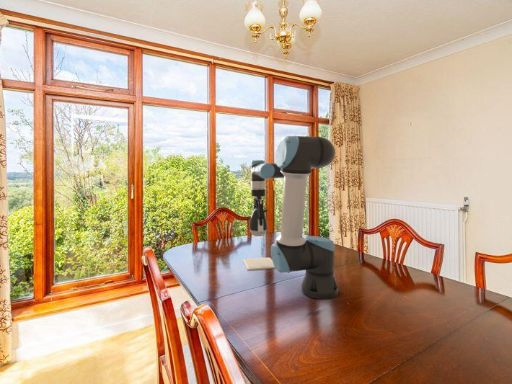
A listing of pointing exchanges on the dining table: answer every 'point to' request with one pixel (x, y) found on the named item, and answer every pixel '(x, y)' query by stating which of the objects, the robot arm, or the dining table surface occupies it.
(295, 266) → the robot arm
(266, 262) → the trivet
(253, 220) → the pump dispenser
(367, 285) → the dining table surface
